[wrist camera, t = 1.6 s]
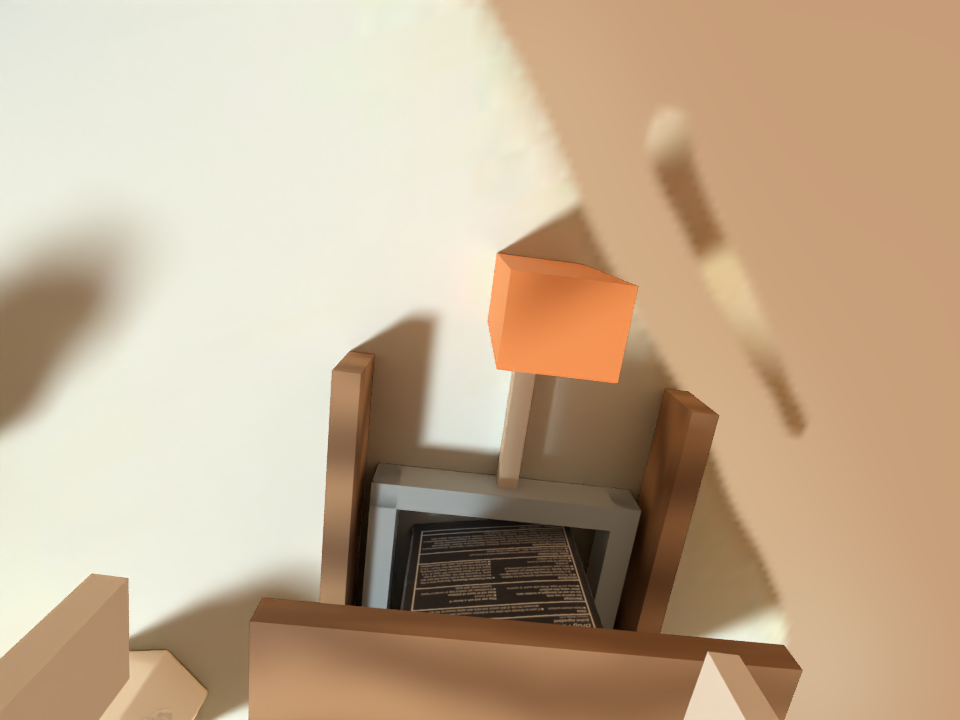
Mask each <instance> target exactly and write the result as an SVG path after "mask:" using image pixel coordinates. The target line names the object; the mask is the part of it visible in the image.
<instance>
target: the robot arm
mask: <svg viewBox="0 0 960 720" xmlns="http://www.w3.org/2000/svg"><path fill="white" fill-rule="evenodd" d="M129 679H130V675H129V594H128V578H123V577H115V576H107V575H99V574H91V575H90V576H89V577H88V578H86V579H85V580H84V581H83V582H82V583H81V584H80V585H79V586H78V587H77V588H76V589H75V590H74V591H73V592H71V593H70V594H69V595H68V596H67V597H66V598H65V599H64V600H63V601H62V602H61V603H60V604H59V605H58V606H56V607H55V608H54V609H53V610H52V611H51V612H50V613H49V614H48V615H47V616H46V617H45V618H44V619H43V620H41V621H40V622H39V623H38V624H37V625H36V626H35V627H34V628H33V629H32V630H31V631H30V632H29V633H27V634H26V635H25V636H24V637H23V638H22V639H21V640H20V641H19V642H18V643H17V644H16V645H15V646H14V647H12V648H11V649H10V650H9V651H8V652H7V653H6V654H5V655H4V656H3V657H2V658H1V659H0V720H99V719H100V718H101V716H102V715H103V714H104V712H105V711H106V710H107V708H108V707H109V706H110V704H111V703H112V702H113V700H114V699H115V697H116V696H117V695H118V693H119V692H120V691H121V689H122V688H123V687H124V685H125V684H126V683H127V681H128V680H129ZM684 720H779V719H778V717H777V716H776V714H775V713H774V711H773V709H772V708H771V706H770V704H769V703H768V701H767V700H766V698H765V696H764V695H763V693H762V692H761V690H760V688H759V687H758V685H757V684H756V682H755V680H754V679H753V677H752V675H751V674H750V672H749V671H748V669H747V667H746V666H745V664H744V663H743V661H742V659H741V658H740V656H739V655H732V654H724V653H716V652H707V655H706V658H705V661H704V663H703V666H702V669H701V672H700V675H699V677H698V680H697V683H696V686H695V689H694V692H693V694H692V697H691V700H690V703H689V706H688V708H687V711H686V714H685V717H684Z"/></svg>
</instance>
